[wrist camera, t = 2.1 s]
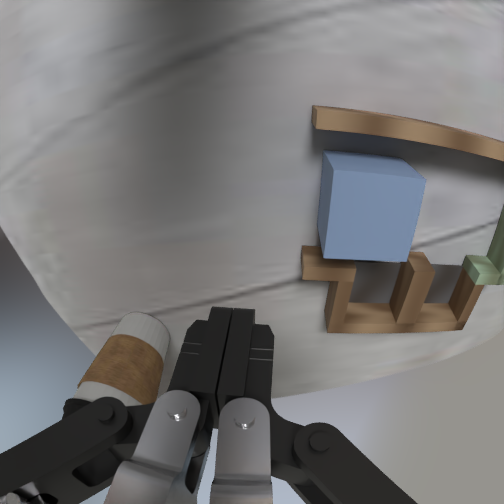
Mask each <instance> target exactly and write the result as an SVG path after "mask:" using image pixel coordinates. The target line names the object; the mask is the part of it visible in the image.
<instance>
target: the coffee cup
mask: <svg viewBox="0 0 504 504" xmlns="http://www.w3.org/2000/svg"><path fill="white" fill-rule="evenodd" d="M169 340H170V336H169V333H168V330H167V329H166V327H165V326H164V325H163V324H162V323H161V322H160V321H159V320H157V319H156V318H154V317H152V316H150V315H147V314H144V313H139V312H133V313H129V314H127V315H125V316H124V317H123V318H122V320H121V321H120V323H119V324H118V326H117V327H116V329H115V330H114V332H113V333H112V335H111V337H110V338H109V339H108V340H107V342H106V343H105V345H104V346H103V348H102V349H101V351H100V352H99V354H98V355H97V357H96V358H95V360H94V361H93V363H92V364H91V366H90V367H89V369H88V370H87V372H86V373H85V375H84V376H83V378H82V379H81V381H80V383H79V384H78V390H77V392H76V393H75V395H74V397H73V398H72V399H68V400H66V402H65V405H64V407H63V410H64V414H63V417H62V419H64V418H66V417H67V416H69V415H71V414H73V413H74V412H76V411H78V410H79V409H81V408H83V407H84V406H86V405H88V404H89V403H91V402H93V401H94V400H96V399H98V398H101V397H114V398H117V399H119V400H120V401H122V402H123V403H124V405H125V406H135V405H145V404H150V403H153V402H155V401H156V399H157V394H158V389H159V384H160V380H161V375H162V371H163V365H164V360H165V357H166V353H167V349H168V345H169Z"/></svg>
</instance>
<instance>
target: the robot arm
mask: <svg viewBox="0 0 504 504" xmlns="http://www.w3.org/2000/svg"><path fill="white" fill-rule="evenodd" d="M273 350H274V335H273V333H272V331H271V329H270V327H269V325H260V324H255V309H241V308H234V310H233V308H226V307H212V308H211V311H210V314H209V318H208V321H205V320H196V321H195V322H194V323H193V324H192V325H191V326H190V327H189V328H188V329H187V332H186V335H185V338H184V343H183V345H182V348H181V352H180V354H179V357H178V360H177V363H176V366H175V369H174V373H173V376H172V379H171V382H170V385H169V388H168V390H167V392H166V393H164V394H163V395H161V396H160V397H159V398H158V399H157V400H156V401H155V402H153V403H150V404H145V405H135V406H125V405H124V403H123V402H122V401H120V400H119V399H117V398H114V397H101V398H98V399H96V400H94V401H93V402H91V403H89V404H88V405H86V406H84V407H83V408H81V409H79V410H78V411H76V412H74V413H73V414H71V415H69V416H67V417H66V418H64V419H62V420H61V421H59V422H57V423H55V424H54V425H52V426H50V427H48V428H47V429H45V430H43V431H41V432H40V433H38V434H36V435H34V436H32V437H31V438H29V439H27V440H25V441H23V442H22V443H20V444H18V445H16V446H14V447H12V448H11V449H9V450H7V451H5V452H3V453H1V454H0V504H79V503H81V502H82V501H84V500H86V499H88V498H90V497H91V496H93V495H95V494H96V493H98V492H100V491H102V490H103V489H105V488H106V487H108V486H110V485H111V486H110V489H109V491H108V494H107V496H106V499H105V501H104V504H197V494H198V490H199V486H200V482H201V479H202V475H203V471H204V468H205V464H206V461H207V457H208V454H209V450H210V441H211V436H212V430H213V428H216V429H218V440H217V453H216V464H215V465H216V466H215V476H214V480H213V482H212V485H211V492H210V504H273V496H272V495H273V494H272V482H271V476H273V477H276V478H279V479H282V480H285V481H287V483H288V484H289V485H290V486H291V487H292V489H294V491H295V492H296V493H297V494H298V495H299V496H300V497H301V499H302V500H303V501H304V502H305V503H306V504H417V503H416V502H415V501H414V500H413V499H412V498H411V497H409V496H408V495H407V494H406V493H405V492H404V491H403V490H402V489H400V488H399V487H398V486H397V485H396V484H395V483H394V482H393V481H392V480H390V479H389V478H388V477H387V476H386V475H385V474H384V473H383V472H382V471H380V469H379V468H378V467H376V466H375V465H374V464H373V463H372V462H371V461H370V460H369V459H368V458H367V457H366V456H365V455H364V454H363V453H361V451H359V449H358V448H356V447H355V446H354V445H353V444H352V443H351V442H350V441H349V440H348V439H347V438H346V437H345V436H344V435H343V434H342V433H341V432H340V431H339V430H338V429H337V428H335V427H334V426H332V425H330V424H327V423H320V422H319V423H312V424H309V425H306V426H302V425H299V424H296V423H293V422H290V421H287V420H285V419H283V418H282V417H280V416H279V415H278V414H277V413H276V412H275V410H274V409H273V407H272V404H271V385H272V368H273Z"/></svg>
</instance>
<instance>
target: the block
mask: <svg viewBox="0 0 504 504" xmlns="http://www.w3.org/2000/svg"><path fill="white" fill-rule="evenodd" d="M425 184H426V179H425V178H424V177H423V176H422V175H420V174H419V173H418V172H417V171H416V170H415V169H413V168H412V167H411V166H410V165H409V164H407V163H406V162H405V161H404V160H402V159H401V158H396V157H388V156H380V155H372V154H362V153H352V152H341V151H329V150H324V151H323V164H322V177H321V189H320V200H319V210H318V220H317V227H318V232H319V237H320V242H321V247H322V253H323V258H329V259H352V260H375V261H398V262H407V258H408V255H409V251H410V248H411V244H412V240H413V237H414V233H415V229H416V225H417V221H418V216H419V212H420V208H421V203H422V199H423V194H424V189H425Z"/></svg>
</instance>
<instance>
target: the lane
mask: <svg viewBox="0 0 504 504" xmlns="http://www.w3.org/2000/svg"><path fill="white" fill-rule="evenodd" d="M312 123H313V125H314V126H315V128H316V129H323V130H334V131H345V132H354V133H362V134H370V135H378V136H385V137H392V138H398V139H405V140H411V141H416V142H422V143H427V144H433V145H438V146H443V147H447V148H452V149H457V150H461V151H465V152H470V153H474V154H478V155H482V156H486V157H490V158H493V159H497V160H501V161H504V142H502V141H499V140H496V139H493V138H489V137H486V136H483V135H479V134H476V133H472V132H468V131H465V130H461V129H457V128H453V127H449V126H444V125H440V124H436V123H431V122H426V121H422V120H417V119H412V118H406V117H401V116H395V115H389V114H383V113H376V112H369V111H362V110H354V109H345V108H336V107H325V106H313V105H312ZM301 265H302V279H303V280H321V281H330V284H329V289H328V295H327V300H326V305H325V318H326V326H327V333H411V332H437V331H455V330H462V329H463V327H464V325H465V324H466V322H467V320H468V318H469V316H470V314H471V312H472V310H473V308H474V306H475V304H476V302H477V300H478V298H479V296H480V293H481V291H482V289H483V287H484V285H504V206H503V210H502V213H501V216H500V219H499V223H498V226H497V229H496V232H495V235H494V238H493V240H492V243H491V246H490V249H489V251H488V254H487V256H473V255H466V257H465V260H464V262H463V265H462V266H459V265H436V264H430V262H429V261H428V259H427V257H426V256H425V254H424V253H423V252H409V255H408V258H407V262H401V263H393V262H372V261H354V260H352V259H329V258H323V253H322V247H318V246H302V253H301Z"/></svg>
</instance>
